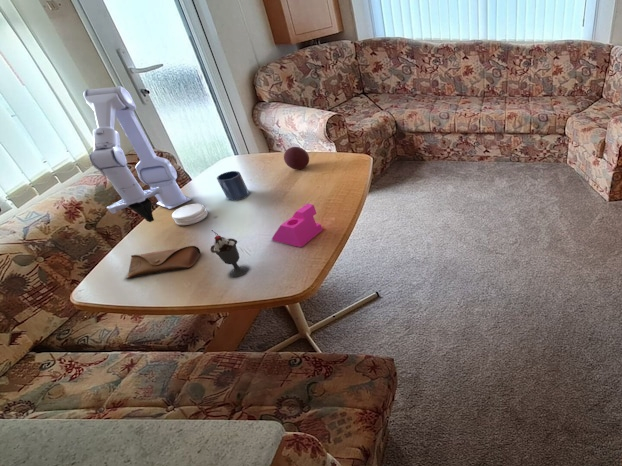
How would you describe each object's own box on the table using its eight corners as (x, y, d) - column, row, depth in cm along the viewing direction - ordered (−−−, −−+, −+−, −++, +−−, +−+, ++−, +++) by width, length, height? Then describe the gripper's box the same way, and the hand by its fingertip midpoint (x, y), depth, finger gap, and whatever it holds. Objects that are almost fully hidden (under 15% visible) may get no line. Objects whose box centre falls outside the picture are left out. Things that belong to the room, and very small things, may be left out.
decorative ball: (316, 167, 171) (309, 147, 165) (293, 175, 166) (285, 154, 160) (306, 161, 177) (299, 141, 171) (284, 168, 171) (276, 148, 165)
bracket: (322, 229, 131) (313, 204, 125) (301, 247, 124) (290, 221, 118) (295, 223, 135) (285, 199, 129) (272, 240, 127) (260, 215, 121)
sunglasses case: (123, 279, 112) (116, 257, 111) (139, 275, 119) (133, 255, 118) (192, 267, 116) (186, 246, 115) (204, 263, 123) (199, 243, 122)
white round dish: (213, 215, 140) (209, 207, 138) (184, 229, 134) (178, 220, 132) (200, 208, 145) (195, 200, 143) (171, 220, 138) (165, 212, 136)
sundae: (232, 265, 117) (209, 225, 108) (255, 263, 117) (233, 224, 108) (221, 280, 112) (196, 239, 103) (245, 278, 112) (222, 238, 103)
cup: (222, 198, 151) (212, 178, 145) (241, 189, 156) (231, 169, 151) (235, 202, 148) (225, 182, 143) (253, 193, 154) (244, 173, 148)
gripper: (105, 198, 113) (132, 234, 121) (158, 177, 124) (179, 212, 132) (93, 193, 116) (120, 229, 124) (146, 173, 126) (168, 208, 134)
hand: (150, 220), depth 128 cm, fingers closed
